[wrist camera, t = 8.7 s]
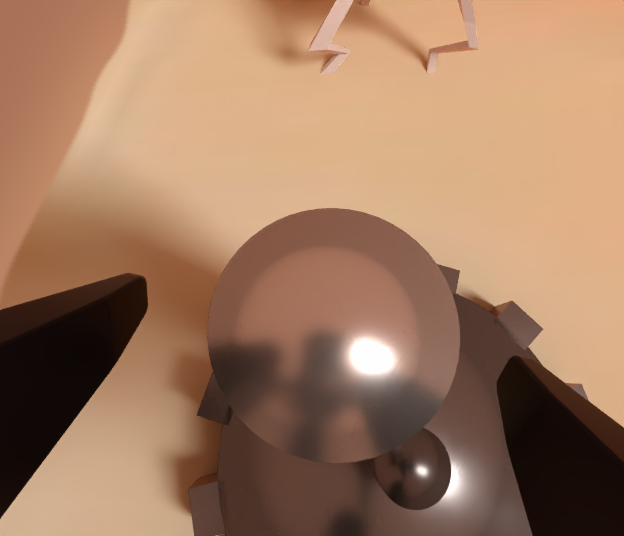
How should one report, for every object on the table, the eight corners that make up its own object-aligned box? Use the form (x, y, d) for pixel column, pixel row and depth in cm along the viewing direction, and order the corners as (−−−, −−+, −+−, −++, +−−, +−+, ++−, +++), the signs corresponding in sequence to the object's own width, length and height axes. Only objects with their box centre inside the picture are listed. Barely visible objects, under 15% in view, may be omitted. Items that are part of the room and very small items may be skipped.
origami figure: (260, 75, 22) (249, -6, 17) (293, -22, 24) (291, -117, 20) (454, 116, 22) (498, 45, 17) (468, 14, 24) (510, -75, 19)
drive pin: (352, 403, 15) (474, 464, 5) (267, 402, 15) (194, 462, 5) (351, 318, 16) (447, 211, 6) (271, 316, 16) (218, 205, 6)
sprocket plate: (564, 765, 13) (640, 877, 10) (133, 610, 14) (90, 673, 11) (596, 322, 18) (654, 312, 15) (272, 227, 19) (266, 200, 16)
